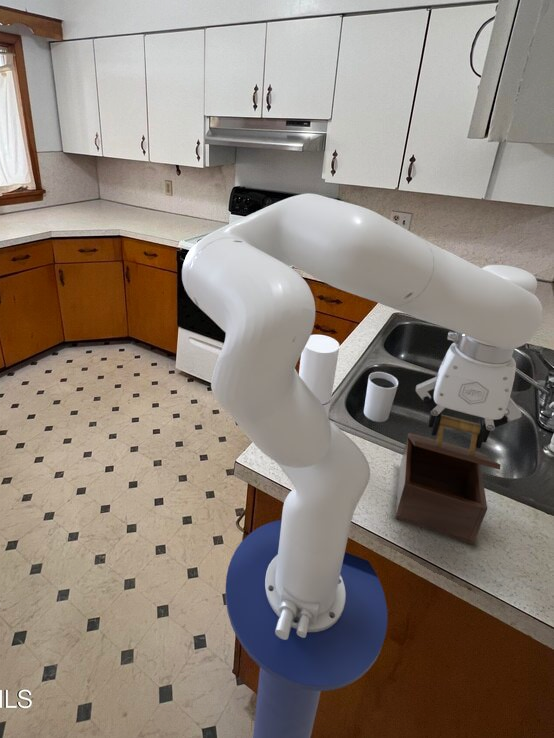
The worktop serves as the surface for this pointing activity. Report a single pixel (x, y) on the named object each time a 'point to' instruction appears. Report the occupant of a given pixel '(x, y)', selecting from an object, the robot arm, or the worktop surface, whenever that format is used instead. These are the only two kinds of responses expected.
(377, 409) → the white cup
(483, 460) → the lid
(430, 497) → the chest
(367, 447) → the worktop surface
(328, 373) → the cylindrical container
